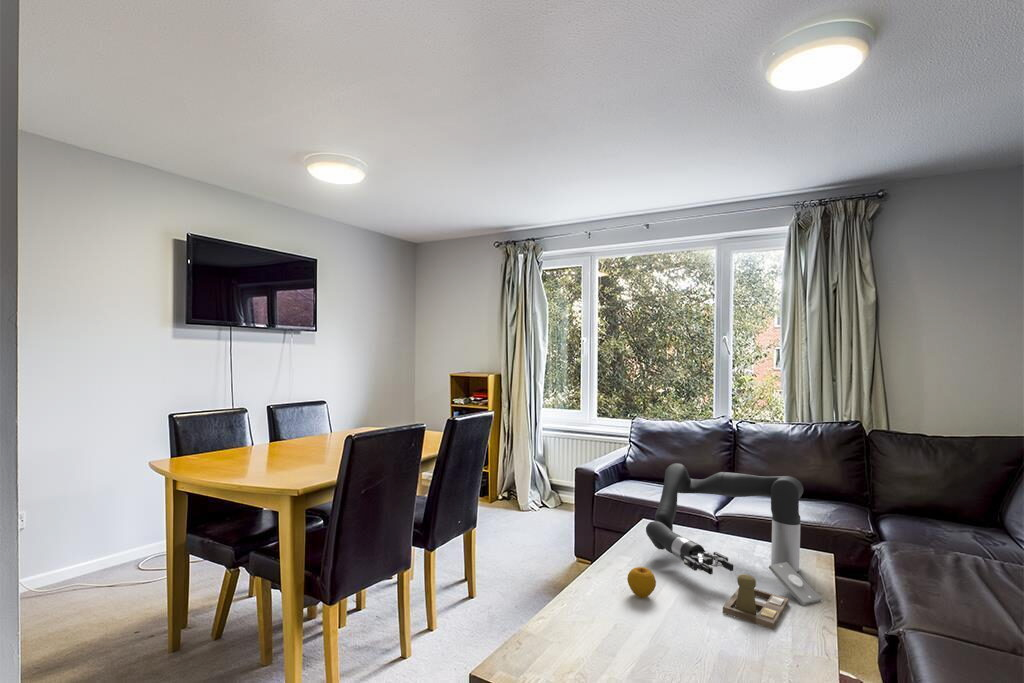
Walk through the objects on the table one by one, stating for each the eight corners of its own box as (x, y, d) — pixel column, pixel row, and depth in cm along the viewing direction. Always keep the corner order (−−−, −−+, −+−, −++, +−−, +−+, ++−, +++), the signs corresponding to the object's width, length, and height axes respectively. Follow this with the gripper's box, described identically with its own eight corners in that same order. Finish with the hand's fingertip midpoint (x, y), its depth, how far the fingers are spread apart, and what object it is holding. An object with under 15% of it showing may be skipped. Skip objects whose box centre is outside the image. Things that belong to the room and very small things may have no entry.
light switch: (805, 601, 161) (770, 563, 173) (796, 613, 164) (762, 575, 176) (823, 596, 165) (788, 559, 177) (814, 609, 167) (780, 571, 179)
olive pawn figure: (731, 607, 159) (732, 571, 159) (750, 607, 160) (750, 571, 160) (741, 617, 153) (742, 580, 153) (761, 617, 154) (761, 580, 154)
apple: (633, 587, 171) (634, 559, 171) (659, 595, 166) (660, 567, 166) (622, 596, 164) (623, 568, 164) (649, 605, 159) (650, 576, 159)
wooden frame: (741, 590, 171) (741, 583, 171) (788, 604, 163) (788, 597, 163) (722, 612, 156) (722, 605, 156) (773, 629, 147) (773, 621, 147)
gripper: (703, 559, 184) (739, 578, 169) (671, 564, 179) (704, 584, 163) (704, 538, 184) (739, 555, 169) (671, 542, 179) (705, 560, 164)
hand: (722, 569), depth 166 cm, fingers open, 8 cm apart
